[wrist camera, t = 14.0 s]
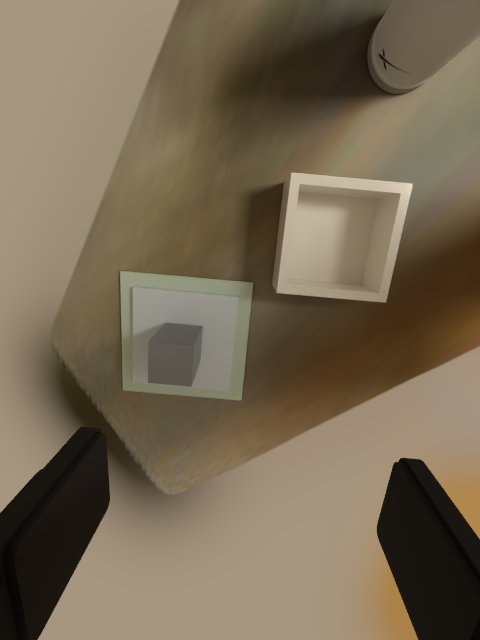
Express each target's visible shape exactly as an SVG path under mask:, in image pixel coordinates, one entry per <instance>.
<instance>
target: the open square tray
mask: <svg viewBox="0 0 480 640" xmlns="http://www.w3.org/2000/svg"><path fill="white" fill-rule="evenodd" d="M412 186H413V184H410V183H399V182H388V181H378V180H367V179H356V178H345V177H335V176H324V175H313V174H302V173H291V174H290V175H289V176H288V178H287V179H286V180H285V181H284V185H283V193H282V202H281V210H280V219H279V227H278V236H277V244H276V253H275V262H274V270H273V279H272V285H273V287H274V289H275V291H276V293H283V294H294V295H305V296H316V297H328V298H339V299H350V300H362V301H373V302H384V303H386V301H387V296H388V292H389V287H390V283H391V278H392V274H393V270H394V265H395V261H396V256H397V252H398V248H399V243H400V239H401V234H402V230H403V225H404V221H405V217H406V212H407V208H408V203H409V199H410V195H411V190H412Z"/></svg>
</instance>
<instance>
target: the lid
mask: <svg viewBox="0 0 480 640" xmlns="http://www.w3.org/2000/svg"><path fill="white" fill-rule="evenodd" d="M238 297H239V296H236V295H226V294H216V293H205V292H195V291H185V290H175V289H165V288H154V287H144V286H134V287H133V383H144V384H154V385H165V386H176V387H186V388H197V389H207V390H218V391H229V390H230V379H231V369H232V359H233V349H234V338H235V328H236V318H237V308H238Z"/></svg>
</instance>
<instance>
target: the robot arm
mask: <svg viewBox="0 0 480 640" xmlns="http://www.w3.org/2000/svg"><path fill="white" fill-rule="evenodd" d="M109 501H110V491H109V475H108V459H107V444H106V435H105V434H103V433H102V432H101V430H100V429H99V428H90V427H81V428H80V429H78V430H77V432H76V433H75V434H74V435H73V436H72V437H71V438H70V439H69V440H68V441H67V443H66V444H65V445H64V446H63V447H62V448H61V449H60V450H59V452H58V453H57V454H56V455H55V456H54V457H53V458H52V460H50V462H49V463H48V464H47V465H46V466H45V467H44V468H43V469H41V470H40V471H39V472H38V473H36V475H34V477H33V478H32V479H31V480H30V481H29V482H28V483H27V484H26V485H25V486H24V488H23V489H22V490H21V491H20V492H19V493H18V494H17V495H16V496H15V498H14V499H13V500H12V501H11V502H10V503H9V504H8V505H7V506H6V507H5V509H4V510H3V511H2V512H1V513H0V640H37V639H38V638H39V636H40V635H41V633H42V631H43V629H44V627H45V625H46V623H47V622H48V620H49V618H50V616H51V614H52V612H53V610H54V608H55V606H56V605H57V603H58V601H59V599H60V597H61V595H62V593H63V591H64V590H65V588H66V586H67V584H68V582H69V580H70V578H71V576H72V574H73V573H74V570H75V569H76V567H77V565H78V563H79V561H80V560H81V557H82V556H83V554H84V552H85V550H86V548H87V546H88V544H89V543H90V541H91V539H92V537H93V535H94V533H95V531H96V529H97V528H98V526H99V524H100V522H101V520H102V518H103V516H104V515H105V513H106V511H107V509H108V506H109ZM377 535H378V538H379V542H380V544H381V547H382V549H383V551H384V554H385V556H386V559H387V561H388V564H389V567H390V569H391V572H392V574H393V577H394V579H395V582H396V584H397V587H398V589H399V592H400V594H401V597H402V600H403V602H404V604H405V607H406V609H407V612H408V614H409V617H410V620H411V622H412V625H413V627H414V630H415V632H416V635H417V637H418V640H480V539H479V538H478V537H477V535H476V534H475V532H474V531H473V529H472V528H471V527H470V525H469V524H468V523H467V521H466V520H465V518H464V517H463V516H462V514H461V513H460V511H459V510H458V509H457V508H456V506H455V505H454V503H453V502H452V500H451V499H450V498H449V496H448V495H447V493H446V492H445V491H444V489H443V488H442V487H441V485H440V484H439V482H438V481H437V480H436V478H435V477H434V476H433V474H432V473H431V471H430V470H429V469H428V468H427V466H426V465H425V463H424V462H423V461H422V460H419V459H409V458H401V459H400V460H399V462H395V463H394V465H393V468H392V472H391V476H390V480H389V483H388V487H387V490H386V494H385V498H384V501H383V505H382V509H381V513H380V516H379V520H378V524H377Z"/></svg>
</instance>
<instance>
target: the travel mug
mask: <svg viewBox="0 0 480 640" xmlns="http://www.w3.org/2000/svg"><path fill="white" fill-rule="evenodd" d="M479 36H480V0H393V2H392V3H391V5H390V6H389V8H388V9H387V11H386V12H385V14H384V16H383V17H382V19H381V20H380V22H379V23H378V25H377V27H376V28H375V30H374V32H373V34H372V36H371V39H370V42H369V45H368V51H367V63H368V69H369V72H370V75H371V77H372V78H373V80H374V82H375V83H376V84H377V85H378V86H379V87H380V88H381V89H383V90H384V91H387V92H389V93H394V94H403V93H407V92H410V91H413V90H414V89H416V88H418V87H419V86H421V85H422V84H423V83H424V82H425V81H427V80H428V79H429V78H430V77H431V76H433V75H434V74H435V73H436V72H437V71H439V70H440V69H441V68H442V67H443V66H444V65H446V64H447V63H448V62H449V61H450V60H452V59H453V58H454V57H455V56H456V55H458V54H459V53H460V52H461V51H462V50H464V49H465V48H466V47H467V46H468V45H470V44H471V43H472V42H473V41H474V40H476V39H477V38H478V37H479Z"/></svg>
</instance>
